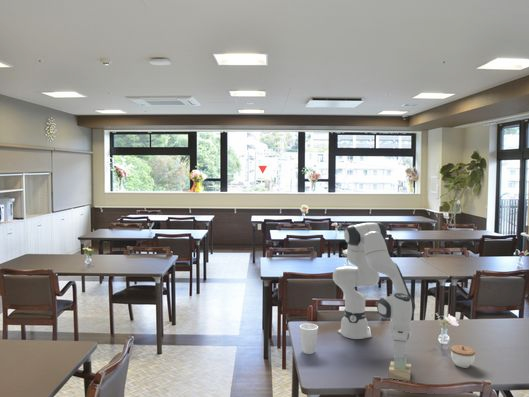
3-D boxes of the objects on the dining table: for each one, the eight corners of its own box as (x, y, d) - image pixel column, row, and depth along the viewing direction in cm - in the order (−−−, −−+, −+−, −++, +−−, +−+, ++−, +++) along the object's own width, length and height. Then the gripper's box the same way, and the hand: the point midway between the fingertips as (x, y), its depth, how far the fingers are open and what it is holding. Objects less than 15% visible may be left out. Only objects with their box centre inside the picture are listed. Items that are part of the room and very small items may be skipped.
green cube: (394, 363, 201) (395, 352, 200) (406, 365, 199) (406, 354, 198) (393, 367, 196) (394, 357, 196) (405, 369, 194) (405, 359, 194)
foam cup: (316, 356, 217) (317, 330, 217) (298, 354, 219) (298, 329, 219) (318, 348, 227) (318, 324, 226) (300, 346, 229) (301, 322, 228)
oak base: (390, 369, 203) (390, 361, 203) (410, 372, 200) (411, 364, 200) (388, 377, 195) (388, 369, 195) (409, 381, 192) (410, 372, 191)
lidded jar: (473, 372, 201) (473, 352, 201) (448, 366, 207) (449, 347, 207) (475, 363, 211) (476, 344, 210) (452, 358, 216) (452, 340, 216)
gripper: (396, 322, 207) (395, 350, 208) (391, 336, 188) (391, 368, 189) (409, 323, 205) (409, 352, 206) (407, 339, 186) (406, 370, 187)
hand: (400, 360), depth 197 cm, fingers open, 8 cm apart
